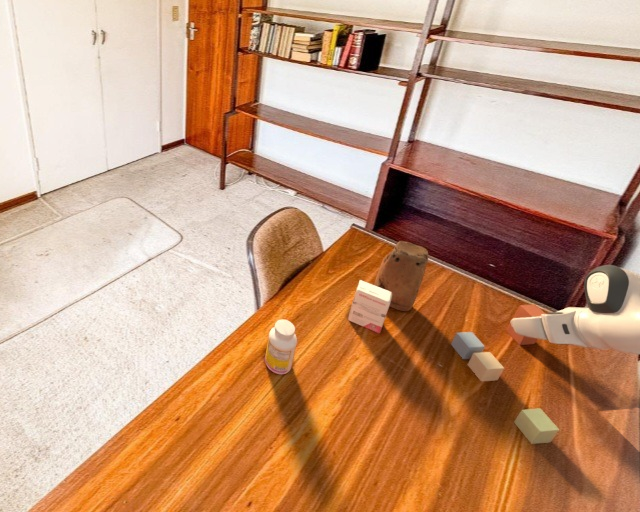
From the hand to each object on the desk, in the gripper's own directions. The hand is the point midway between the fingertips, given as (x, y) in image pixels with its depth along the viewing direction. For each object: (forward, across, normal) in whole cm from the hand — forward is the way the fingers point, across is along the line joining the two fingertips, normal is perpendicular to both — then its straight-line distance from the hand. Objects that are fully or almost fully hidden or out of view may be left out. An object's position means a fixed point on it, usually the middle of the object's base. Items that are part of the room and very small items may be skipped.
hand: (528, 322), depth 106 cm
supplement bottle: (+3, +70, +6) cm, 70 cm away
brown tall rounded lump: (+15, +29, -6) cm, 33 cm away
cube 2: (-2, +19, +10) cm, 22 cm away
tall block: (+4, 0, +4) cm, 6 cm away
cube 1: (-12, +19, +20) cm, 30 cm away
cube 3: (+2, +19, +6) cm, 20 cm away
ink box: (+10, +41, -1) cm, 42 cm away
